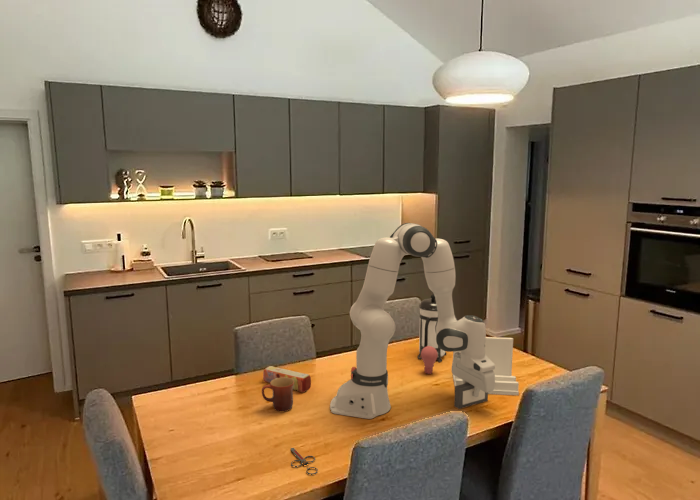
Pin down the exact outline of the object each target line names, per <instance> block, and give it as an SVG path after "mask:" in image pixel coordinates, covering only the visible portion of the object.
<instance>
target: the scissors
mask: <svg viewBox="0 0 700 500" xmlns="http://www.w3.org/2000/svg"><path fill="white" fill-rule="evenodd" d="M291 451H292V452H293V453H294V454H295V455H296V456H295V455H294V454H293V453H292V452H291ZM290 452H291V453H292V454H293V455H294V456H295V457H296V459H294V460H292V461H291V462H290V465H291V467H292V466H295V467H294V468H298V467H297V466H300V467H301V466H303V465H307V464H310V463H308V462H312V463H314V462H315V461H316V457H315V456H313V455H307V456H305V457H303V456H302V455H301V454H300V453H299V451H298V450H296V449H295V447H290ZM307 457H308V458H312V457H314V458H313V460H310V461H308V460H306V459H307ZM297 458H298V459H299V460H298V459H297ZM305 458H306V459H305ZM314 460H315V461H314ZM293 461H296V462H299V461H301V462H300V464H299V465H293V463H294V462H293ZM313 461H314V462H313ZM292 462H293V463H292ZM302 463H303V465H302ZM310 468H315V469H314V470H316V469H317V470H316V472H313V473H312V472H308V471H309V470H311V469H310ZM308 469H309V470H308ZM307 470H308V471H307ZM317 471H319V470H318V468H316V467H313V466H311V467H310V466H309V468H308V467H307V469H306V474H307V473H308V474H307V475H309V474H311V475H310V476H313V475H312V474H315V475H317V474H318V472H317ZM316 473H317V474H316Z"/></svg>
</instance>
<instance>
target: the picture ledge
mask: <svg viewBox="0 0 700 500" xmlns="http://www.w3.org/2000/svg"><path fill="white" fill-rule="evenodd" d="M484 348H485V355H486V356H487V357H488V358H489V359H490V360H491V361H492V362H493V363H494V364H495V369H494V370H493V371H494V374H495V388H494V390H493V391H491V392H488V395H503V396H504V395H505V396H519V393H520V391H519V386H520V385H519V384H520V383H519V381H517V377H516V375H512V373H513V372H512V371H513V370H512V369H513V355H514V353H513V350H514V338H513V337H499V336H497V337H493V336H492V337H491V336H486V342H485V345H484ZM456 352H459V353H461V351H454V352H452V354H453V355H452V360H453V359H454V354H455V353H456ZM452 379H453V385H454V387H455V386H457V385H461V384H463V380H462V379H460V378H458V377H457V376H455V375H453V374H452Z"/></svg>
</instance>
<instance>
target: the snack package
mask: <svg viewBox="0 0 700 500" xmlns="http://www.w3.org/2000/svg"><path fill="white" fill-rule="evenodd" d="M262 374H263V377H262V378H263V381H264V382H265V383H268V384H270V382H271V381H272V380H273V379H276V378H280V377H288V378H291V379H293V380H294V385H293V390H294V391H296V390H297V392H300V393H306V392H307V391H309V389H310V388H311V386H312V380H311V379H312V378H311V377H312V376H311V375H310V374H309V373H303V372H298V371H293V370H289V369H286V368H281V367H275V366H272V365H269V366H267V367H266V368H264V369H263V373H262ZM305 391H306V392H305Z"/></svg>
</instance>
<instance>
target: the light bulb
mask: <svg viewBox="0 0 700 500" xmlns="http://www.w3.org/2000/svg"><path fill="white" fill-rule="evenodd" d="M420 357H421V358H422V359H421V360H422V362H423V363H424V365H423V366H424V371H423V372H424V373H425V374H432V373H433V370H434V367H435V366H434V365H435V363H436V361H437V357H438V353H437V351H436V349H435V348H434V347H432V346H426V347H424V348H423V349H422V351H421V355H420Z"/></svg>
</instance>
